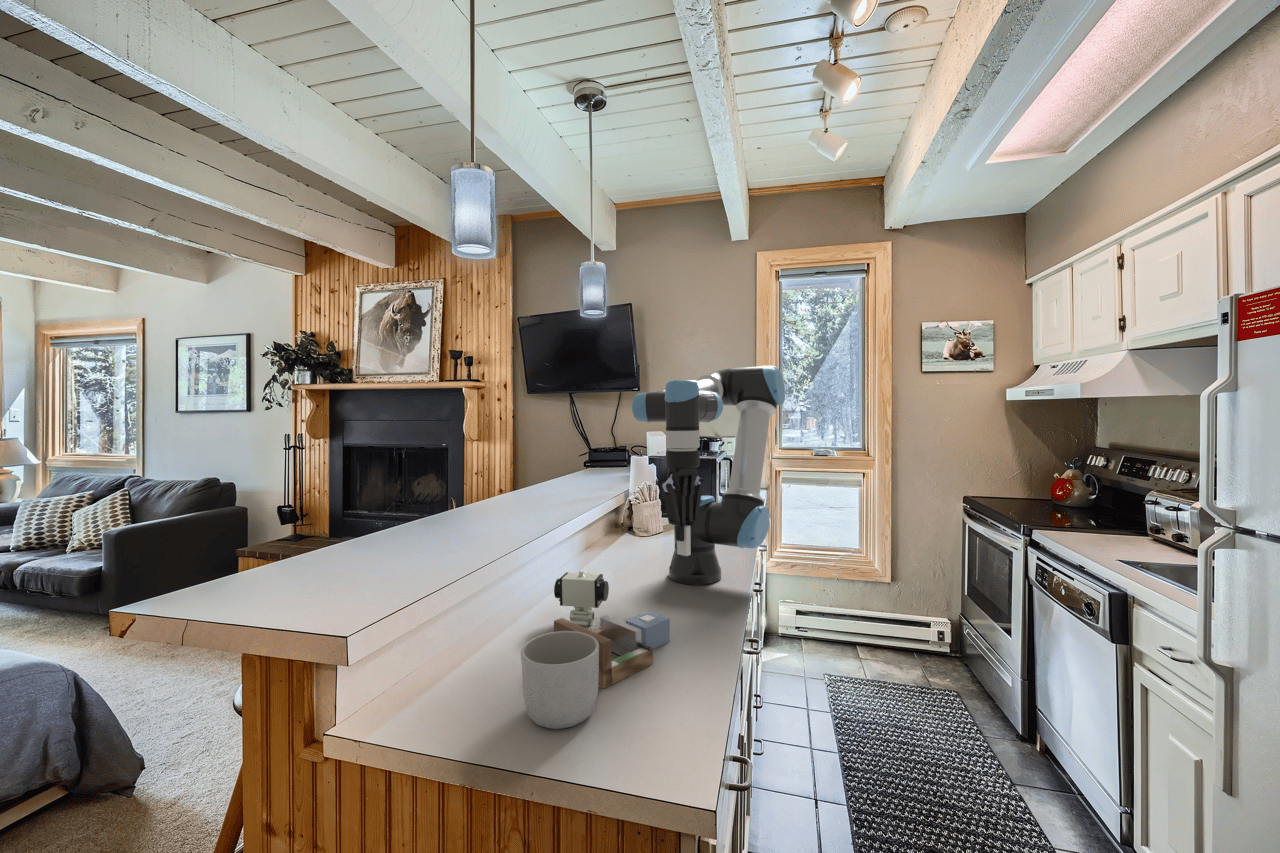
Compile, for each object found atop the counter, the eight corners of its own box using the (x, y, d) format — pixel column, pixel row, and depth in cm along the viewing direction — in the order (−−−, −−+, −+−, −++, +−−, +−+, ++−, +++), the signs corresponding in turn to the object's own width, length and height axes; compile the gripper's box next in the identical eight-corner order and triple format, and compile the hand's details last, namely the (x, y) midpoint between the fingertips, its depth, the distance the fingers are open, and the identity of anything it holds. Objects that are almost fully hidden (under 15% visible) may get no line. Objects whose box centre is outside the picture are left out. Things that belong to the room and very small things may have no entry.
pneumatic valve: (604, 629, 116) (603, 575, 116) (554, 625, 119) (553, 573, 118) (610, 619, 122) (609, 568, 121) (562, 616, 124) (561, 566, 124)
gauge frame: (603, 640, 110) (602, 603, 110) (653, 663, 100) (652, 622, 100) (554, 661, 102) (553, 620, 101) (603, 688, 91) (602, 643, 91)
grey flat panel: (606, 643, 108) (605, 615, 108) (653, 665, 99) (652, 634, 98) (600, 646, 107) (600, 617, 107) (647, 668, 98) (646, 636, 97)
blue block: (649, 633, 114) (649, 609, 114) (669, 642, 110) (669, 617, 110) (625, 643, 109) (625, 618, 109) (646, 653, 105) (645, 627, 105)
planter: (531, 746, 76) (529, 672, 76) (515, 703, 87) (514, 638, 87) (611, 724, 81) (610, 655, 81) (586, 686, 92) (585, 625, 92)
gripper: (688, 447, 124) (689, 546, 125) (650, 450, 115) (651, 557, 115) (714, 448, 119) (715, 551, 119) (675, 452, 109) (677, 563, 110)
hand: (683, 554), depth 117 cm, fingers closed
